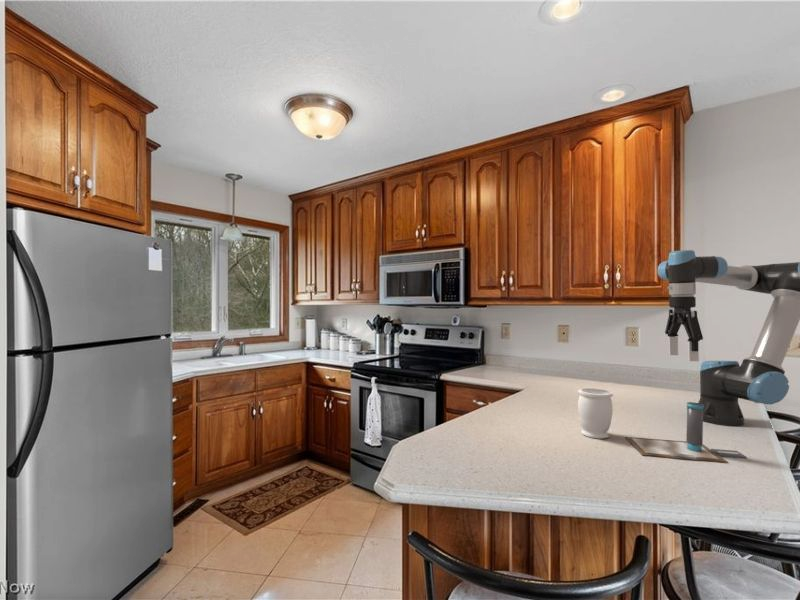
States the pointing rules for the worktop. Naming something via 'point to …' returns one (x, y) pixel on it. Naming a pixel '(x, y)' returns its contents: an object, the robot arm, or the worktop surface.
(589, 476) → the worktop surface
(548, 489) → the worktop surface
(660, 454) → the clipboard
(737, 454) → the grey slotted plate
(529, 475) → the worktop surface
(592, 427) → the jar
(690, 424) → the grey and teal cylinder
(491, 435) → the worktop surface
